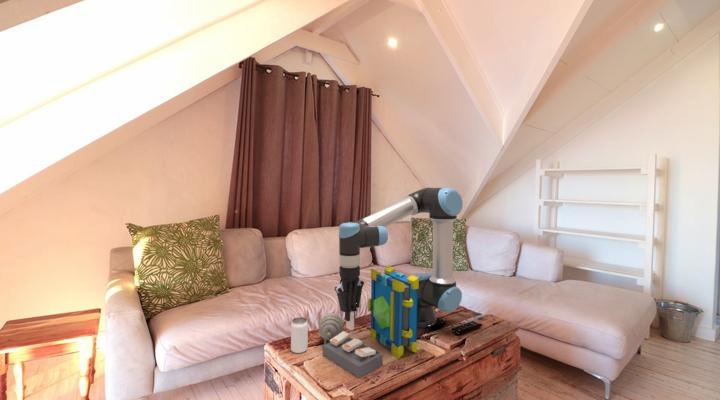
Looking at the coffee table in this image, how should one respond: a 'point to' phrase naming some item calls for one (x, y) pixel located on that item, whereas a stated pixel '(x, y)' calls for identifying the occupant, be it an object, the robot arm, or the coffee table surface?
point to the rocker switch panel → (352, 358)
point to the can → (299, 335)
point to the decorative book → (394, 310)
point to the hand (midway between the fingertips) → (350, 328)
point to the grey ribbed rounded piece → (330, 326)
